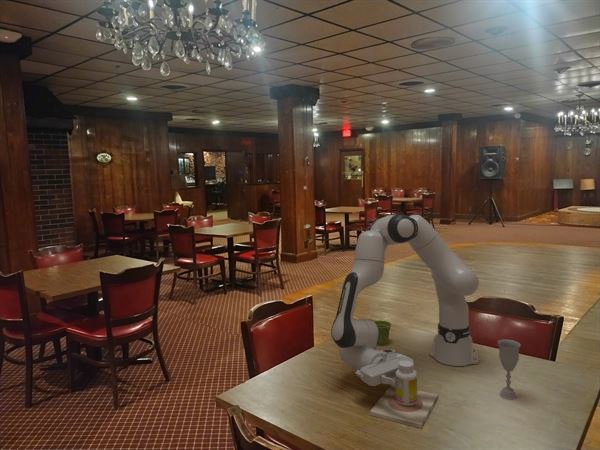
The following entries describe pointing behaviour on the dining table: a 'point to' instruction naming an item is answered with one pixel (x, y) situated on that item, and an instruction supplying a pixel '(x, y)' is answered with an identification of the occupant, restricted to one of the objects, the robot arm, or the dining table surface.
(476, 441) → the dining table surface
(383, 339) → the plant pot
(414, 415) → the board
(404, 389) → the supplement bottle
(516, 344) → the chalice
